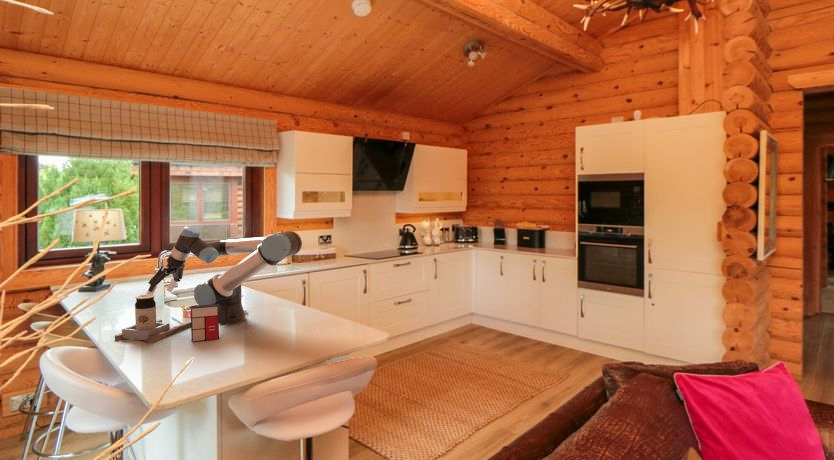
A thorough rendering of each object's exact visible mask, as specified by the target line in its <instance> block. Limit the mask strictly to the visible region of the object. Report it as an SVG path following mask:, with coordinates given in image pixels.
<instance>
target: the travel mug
mask: <svg viewBox="0 0 834 460" xmlns="http://www.w3.org/2000/svg"><path fill="white" fill-rule="evenodd" d="M134 298H135V299H136V301H135V303H134V313H135V314H134V315H135V324H136V330H146V331H148V330H151V329H153V328H156V320H157V307H156V304H157V303H156V301H155V294H153V295H152V294H146V293H145V294H138V295H136V296H135V297H134Z"/></svg>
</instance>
